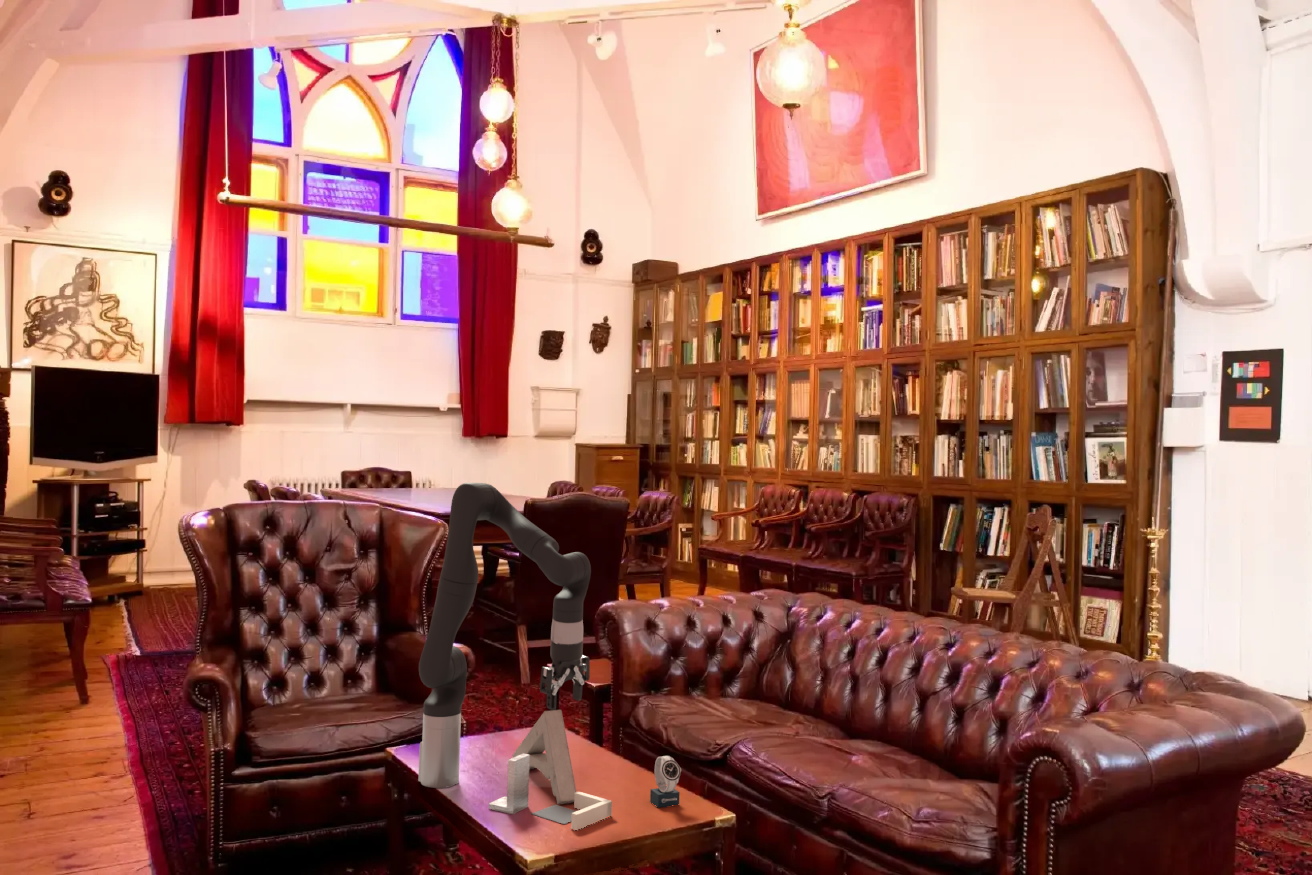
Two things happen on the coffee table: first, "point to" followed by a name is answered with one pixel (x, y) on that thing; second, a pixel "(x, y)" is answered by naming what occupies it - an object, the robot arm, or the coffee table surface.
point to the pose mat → (556, 814)
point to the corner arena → (589, 810)
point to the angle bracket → (515, 786)
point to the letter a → (551, 754)
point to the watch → (665, 782)
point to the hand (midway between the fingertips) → (564, 704)
